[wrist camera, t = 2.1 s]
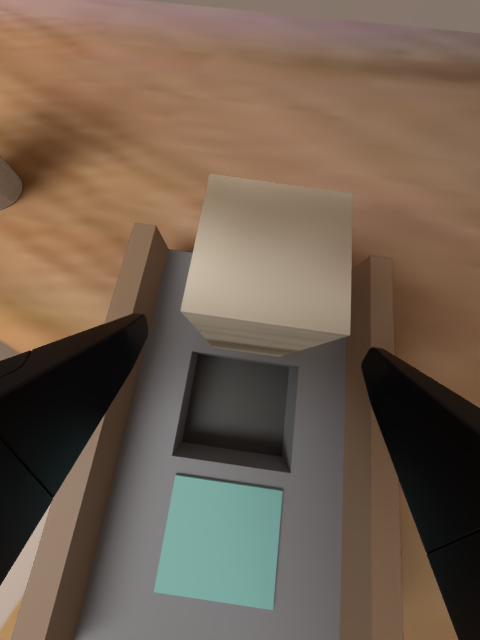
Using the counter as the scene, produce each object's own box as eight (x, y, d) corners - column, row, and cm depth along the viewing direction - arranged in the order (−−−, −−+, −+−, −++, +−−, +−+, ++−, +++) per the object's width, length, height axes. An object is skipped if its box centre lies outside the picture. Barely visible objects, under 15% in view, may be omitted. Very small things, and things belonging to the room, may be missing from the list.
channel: (339, 627, 15) (408, 795, 9) (82, 588, 15) (-16, 729, 9) (347, 290, 21) (392, 258, 15) (162, 264, 21) (134, 222, 15)
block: (279, 357, 16) (350, 335, 6) (213, 347, 16) (180, 311, 6) (285, 294, 17) (353, 193, 7) (223, 285, 17) (209, 173, 7)
